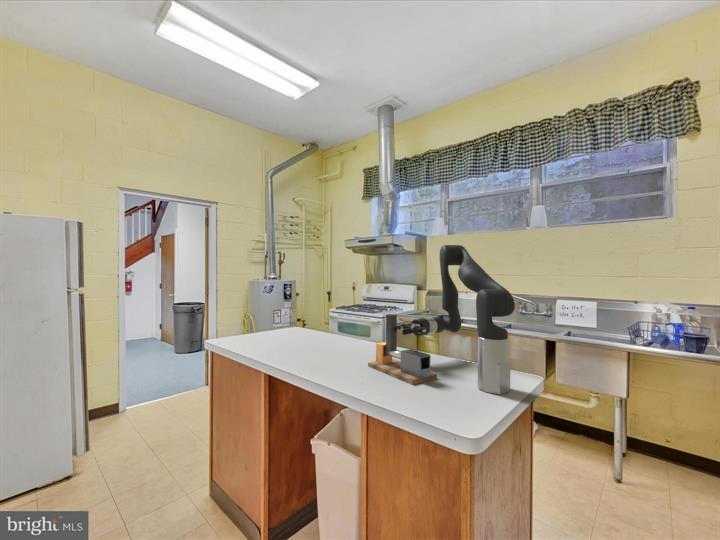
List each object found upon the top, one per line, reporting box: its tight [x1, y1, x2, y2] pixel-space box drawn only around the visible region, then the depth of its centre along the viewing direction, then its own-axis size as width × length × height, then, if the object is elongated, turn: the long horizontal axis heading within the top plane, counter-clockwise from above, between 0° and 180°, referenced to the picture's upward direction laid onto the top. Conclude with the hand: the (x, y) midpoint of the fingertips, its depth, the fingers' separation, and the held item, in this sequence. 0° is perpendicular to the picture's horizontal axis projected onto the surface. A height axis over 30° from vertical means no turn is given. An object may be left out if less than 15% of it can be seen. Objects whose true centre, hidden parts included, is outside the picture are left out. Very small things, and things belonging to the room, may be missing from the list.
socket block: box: [375, 341, 393, 364], centre depth 133 cm, size 4×5×8 cm
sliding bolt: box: [383, 313, 402, 360], centre depth 126 cm, size 18×3×16 cm, turn 35°
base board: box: [367, 358, 438, 386], centre depth 124 cm, size 26×12×2 cm, turn 35°
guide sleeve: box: [400, 348, 431, 379], centre depth 118 cm, size 10×5×8 cm, turn 35°
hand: (395, 330), depth 130 cm, fingers open, 8 cm apart
